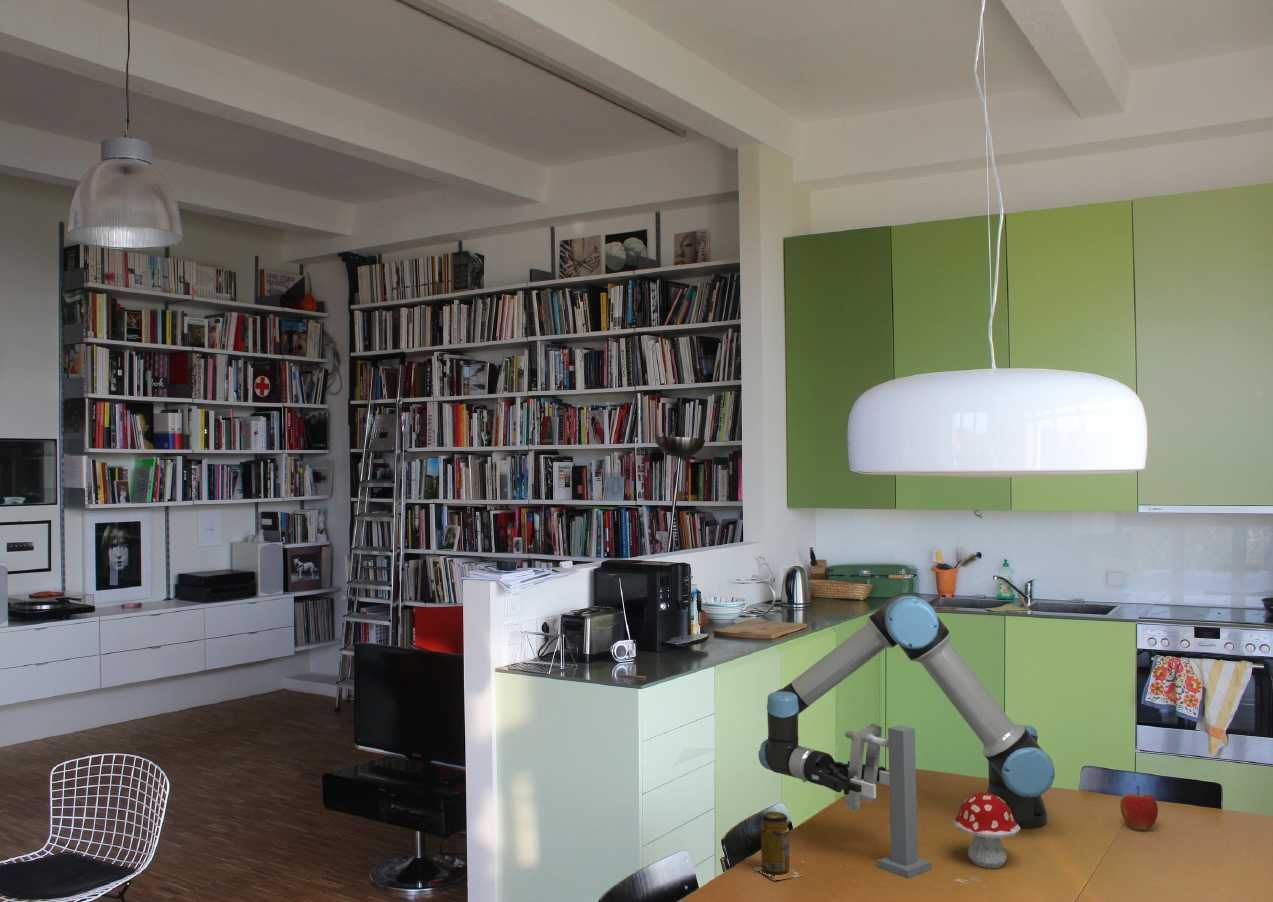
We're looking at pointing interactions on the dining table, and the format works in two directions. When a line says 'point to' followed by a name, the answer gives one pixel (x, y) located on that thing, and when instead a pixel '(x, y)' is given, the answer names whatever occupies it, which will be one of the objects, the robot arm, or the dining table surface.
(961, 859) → the dining table surface
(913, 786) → the hook stand
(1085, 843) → the dining table surface
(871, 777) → the c link
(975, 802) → the decorative mushroom
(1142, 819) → the apple
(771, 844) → the condiment
